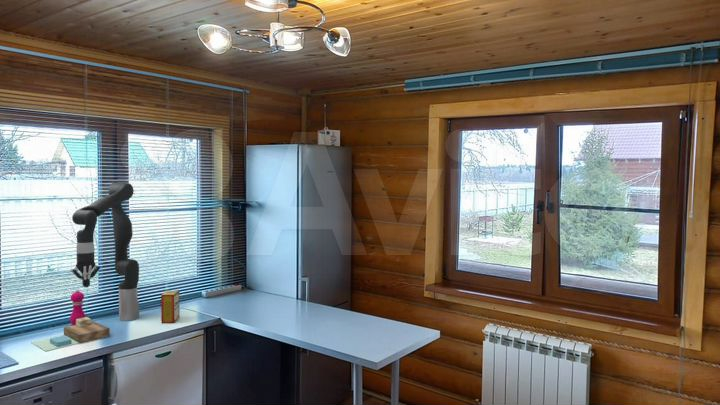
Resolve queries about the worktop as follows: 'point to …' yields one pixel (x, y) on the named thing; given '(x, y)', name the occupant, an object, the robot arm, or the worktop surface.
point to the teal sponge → (60, 341)
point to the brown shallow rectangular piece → (86, 332)
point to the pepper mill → (77, 306)
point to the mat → (48, 346)
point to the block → (83, 321)
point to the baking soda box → (170, 307)
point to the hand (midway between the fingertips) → (86, 286)
